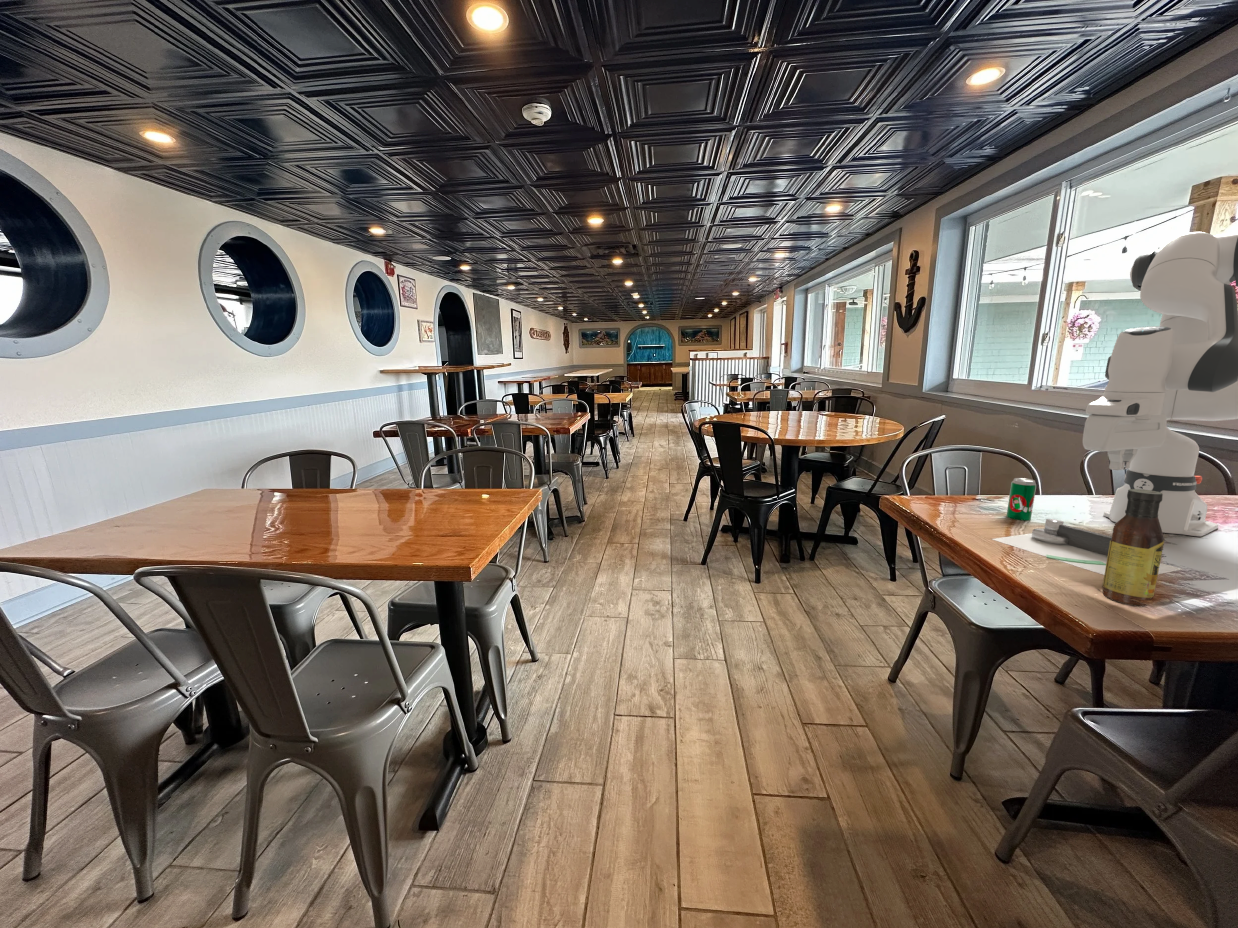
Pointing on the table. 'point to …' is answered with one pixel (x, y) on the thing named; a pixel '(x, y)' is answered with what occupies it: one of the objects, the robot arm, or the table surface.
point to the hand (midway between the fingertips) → (1118, 469)
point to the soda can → (1021, 499)
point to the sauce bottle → (1135, 550)
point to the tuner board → (1067, 553)
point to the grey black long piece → (1072, 537)
